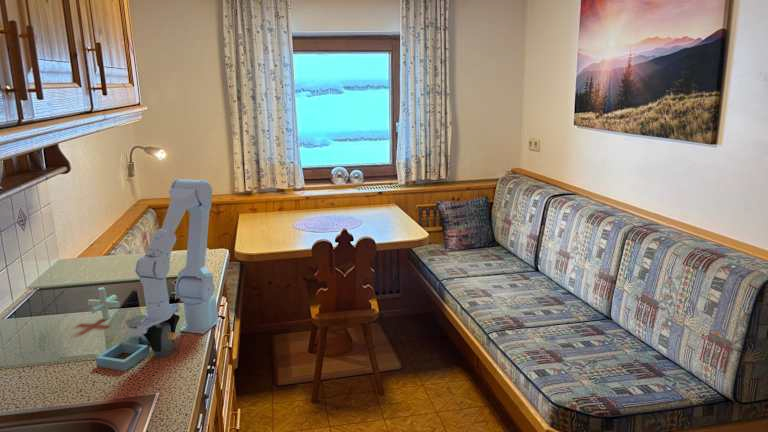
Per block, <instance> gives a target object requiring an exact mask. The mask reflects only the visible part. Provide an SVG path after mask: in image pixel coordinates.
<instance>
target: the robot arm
mask: <svg viewBox="0 0 768 432" xmlns="http://www.w3.org/2000/svg"><path fill="white" fill-rule="evenodd" d="M168 193H169V198H170V202H169V205H168V207H167V211H166V214H165V216H164V219H163V222H162V226H161V228H159V229H157V230H156V231H154V233H153V236H152V237H151V241H150V242H149V245H148V248H147V249H146V252H145V254H144V255H143V256H142V257H139V258H138V260H137V261H136V265H135V266H136V268H135V269H134V271H135V274H136V276H137V277H139V281H140V283H141V284H142V288H143V294H144V295H143V296H144V302H145V308H146V313H145V314H144V315H145V317H146V318H145V319H144V320H143V322H142V323H141V324H140V325H138V326H137V329H138V333H141V334H143V335H144V336H145V337H146V339H147V340H148V342H149V344H150V346H149V347H150V348H151V349H152V352H154V351H155V352H160V351H161V333H162V330H163V329H160V328H157V327H156V324H158V323H161V322H168V323H170V327H171V332H174V333H176V328H177V326H178V323H179V321H180V315H179V314H176V313H180V311H181V307H180V306H181V305H180V304H179V303H172V304H170V298H169V292H168V285H167V275H168V274H169V272H170V268H171V267H170V266H171V265H170V264H171V262H170V261H171V257H170V256H171V255H172V251H173V248H174V246H175V245H176V242H177V235H176V230H177V229H178V227H179V225H180V223H181V221H182V219H183V217H184V215H185V213H186V211H187V210H188V212H189V221H188V222H189V223H188V235H187V236H188V238H187V249H186V261H185V262H186V263H185V267H183V268H182V269H181V270H179V271H178V274H177V278H176V282H175V285H174V290H175V291H174V292H175V294H176V296H177V297H178V298H180V301H181V302H182V303H183V311H184V318H185V325H184V326H183V327H181V328H180V329H179V331H180V332H185V333H191V334H192V333H194V334H202V335H203V334H205V333H206V332H208V331H209V330H210V329H212V328H213V327H214V326H215V325H217V324H218V323H219V322H221V318H219V313H218V305H217V300H216V298H215V296H214V292H215V284H214V274H213V272H211V271H210V270H209V269H208V268H207V267H206V261H207V259H206V258H207V247H208V234H209V221H210V218H209V217H210V210H211V208H212V202H213V201H212V198H213V188H212V186H211V184H210V182H209V181H208V180H207V179H183V178H175V179H174V180H173V181H172V183H171V185H170V189H169V191H168ZM174 340H175V339H174ZM174 340H172V342H173V343H174Z"/></svg>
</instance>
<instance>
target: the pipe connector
mask: <svg viewBox="0 0 768 432" xmlns="http://www.w3.org/2000/svg"><path fill="white" fill-rule="evenodd" d="M97 290H98V297H99V299H92V298H91V299H88V300H87V301H86V302H87V305H88V306H90V308H89V311H90V313H92V314H95V313H97V312H98V311H99V310H101V314H102V319H103V320H104V321H106V320H109V319H110V313H109V307H110V308H119V307H120V306H121V302H120V301H117V299H118V296H117V295H116V294H112V295H109V296H108V297H107V294H106V288H105V287H103V286H102V287H101V286H100V287H99V288H97ZM91 306H92V307H91Z"/></svg>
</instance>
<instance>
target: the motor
mask: <svg viewBox="0 0 768 432" xmlns="http://www.w3.org/2000/svg"><path fill="white" fill-rule="evenodd" d="M145 318H146V317H145V314H141V315H140V314H139V315H136V316H132V317H131V318H128V320H127V321H126V327H127V334H128V339H126V340H125V341H124V342H127V343H133V344H140V345H147V346H149V345H150V344H149V342H148V340H147V339H146V337H145V336H144V335H143V334H141V333H138V329H137V326H138V325H140V324H141V323H142V322H143V320H144V319H145ZM149 347H150V346H149Z"/></svg>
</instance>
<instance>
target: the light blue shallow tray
mask: <svg viewBox="0 0 768 432" xmlns="http://www.w3.org/2000/svg"><path fill="white" fill-rule="evenodd" d="M149 347H150V346H147V345H140V344H133V343H127V342H125V341H119V343H117V344H115V345H113V346H112V347H111V348H109V349H107V350H106V351H104V352H102V353H101V354H99V355H97V356H96V357H95V362H96V366H97V367H99V368H106V369H111V370H116V371H117V370H118V371H124V372H127V371H128V370H130V369H131V368H133V366H135V365H137V364H138V363H139V362H141V361H142V360H143V359H145V358H147V357H148V356H149V355H150V354H151V353H150V348H149ZM122 353H127V354H130V355H129V356H127V357H126V358H124V359H121V358H116V357H118V356H119V355H120V354H122ZM132 353H133V354H132Z"/></svg>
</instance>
